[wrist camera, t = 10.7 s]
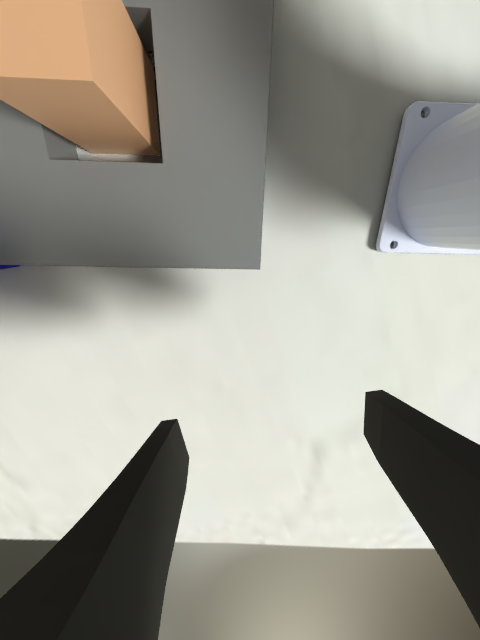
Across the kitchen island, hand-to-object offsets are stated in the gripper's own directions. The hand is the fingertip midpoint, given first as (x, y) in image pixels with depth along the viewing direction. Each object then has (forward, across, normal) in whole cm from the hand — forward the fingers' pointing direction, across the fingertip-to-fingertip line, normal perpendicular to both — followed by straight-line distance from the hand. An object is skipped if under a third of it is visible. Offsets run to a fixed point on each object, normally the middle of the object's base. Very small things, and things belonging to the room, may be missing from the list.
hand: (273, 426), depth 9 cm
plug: (+9, +6, -14) cm, 18 cm away
